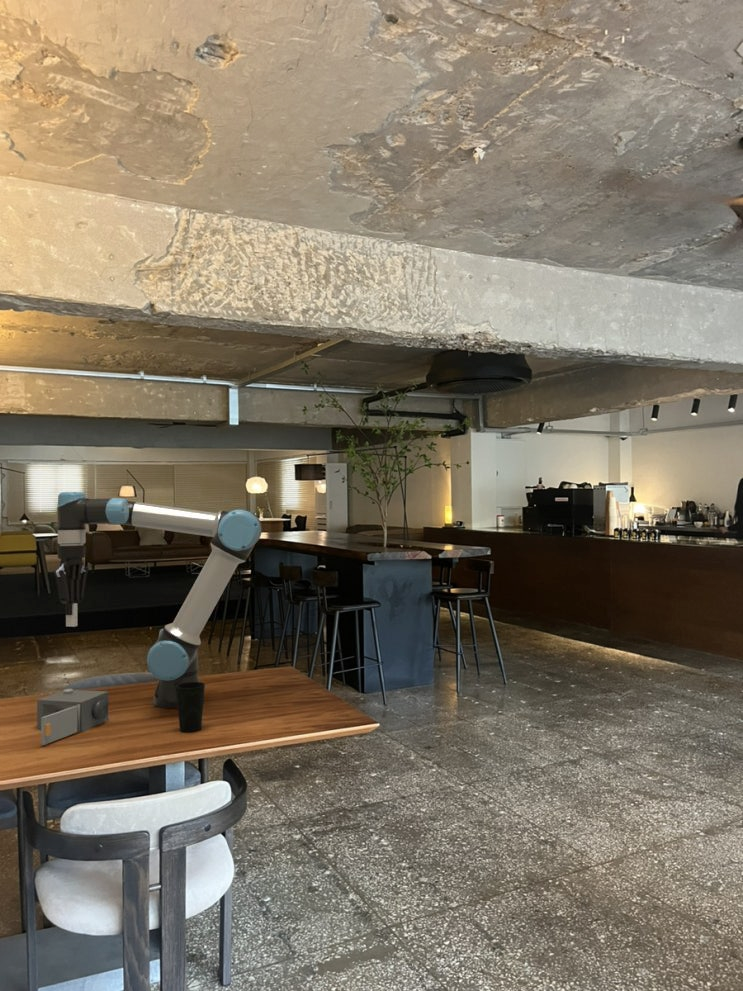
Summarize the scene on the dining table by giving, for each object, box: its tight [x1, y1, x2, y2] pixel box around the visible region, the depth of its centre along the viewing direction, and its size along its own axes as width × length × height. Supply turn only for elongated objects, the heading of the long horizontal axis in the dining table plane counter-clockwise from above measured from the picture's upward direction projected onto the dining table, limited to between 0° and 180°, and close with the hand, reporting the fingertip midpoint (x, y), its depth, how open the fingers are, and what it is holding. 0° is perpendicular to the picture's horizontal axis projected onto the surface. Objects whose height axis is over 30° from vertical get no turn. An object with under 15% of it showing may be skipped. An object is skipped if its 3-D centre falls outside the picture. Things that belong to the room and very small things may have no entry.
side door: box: [40, 706, 78, 746], centre depth 187 cm, size 12×1×7 cm, turn 160°
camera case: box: [36, 688, 109, 733], centre depth 201 cm, size 16×13×9 cm
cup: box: [176, 681, 206, 734], centre depth 195 cm, size 8×8×12 cm
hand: (71, 626), depth 209 cm, fingers closed
